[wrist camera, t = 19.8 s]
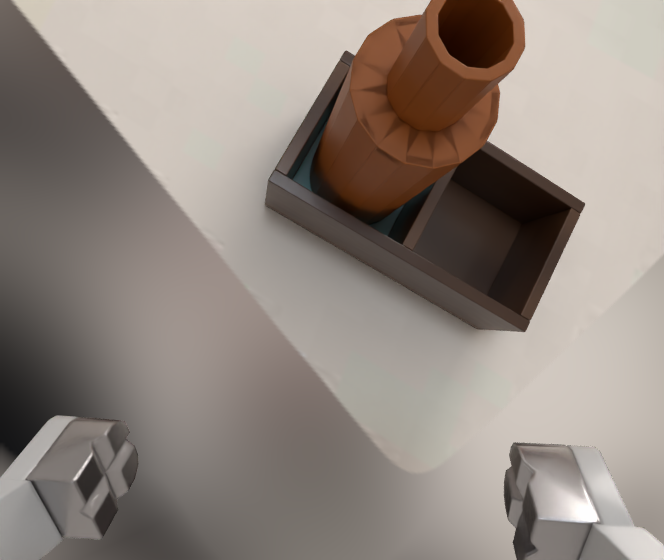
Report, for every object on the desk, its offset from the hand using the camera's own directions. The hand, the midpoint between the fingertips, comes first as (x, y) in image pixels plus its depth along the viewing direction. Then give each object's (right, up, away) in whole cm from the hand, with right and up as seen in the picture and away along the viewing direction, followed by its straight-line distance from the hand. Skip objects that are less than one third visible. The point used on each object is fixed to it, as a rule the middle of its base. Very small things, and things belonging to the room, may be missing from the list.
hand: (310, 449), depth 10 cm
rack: (+5, +8, +21) cm, 23 cm away
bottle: (+2, +10, +20) cm, 22 cm away
